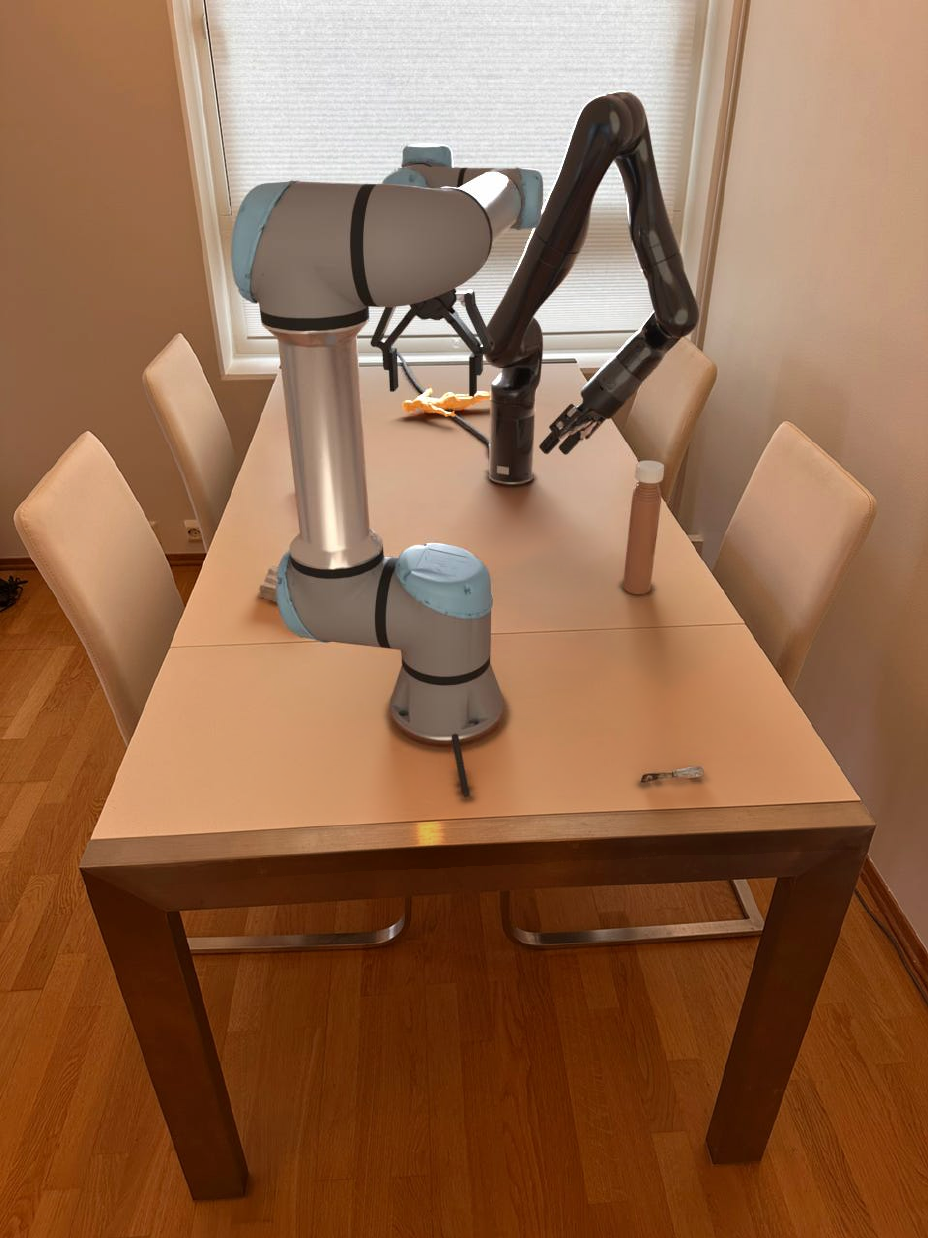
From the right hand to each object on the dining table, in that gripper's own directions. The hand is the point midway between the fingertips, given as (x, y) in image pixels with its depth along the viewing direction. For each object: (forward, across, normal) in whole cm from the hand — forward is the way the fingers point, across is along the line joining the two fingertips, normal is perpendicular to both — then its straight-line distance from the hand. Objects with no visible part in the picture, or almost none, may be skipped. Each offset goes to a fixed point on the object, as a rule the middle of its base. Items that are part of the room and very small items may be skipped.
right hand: (552, 451), depth 168 cm
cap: (-16, +20, +21) cm, 33 cm away
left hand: (+1, +26, -14) cm, 29 cm away
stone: (+35, +44, 0) cm, 56 cm away
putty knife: (-1, +53, +58) cm, 79 cm away
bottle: (0, +13, +32) cm, 35 cm away
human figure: (+26, -42, -42) cm, 65 cm away
